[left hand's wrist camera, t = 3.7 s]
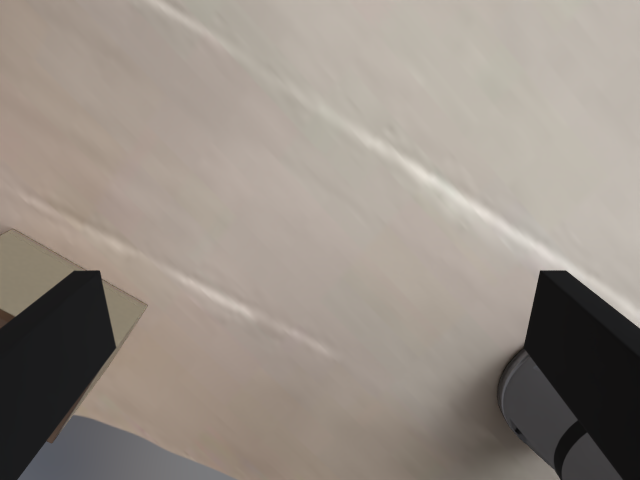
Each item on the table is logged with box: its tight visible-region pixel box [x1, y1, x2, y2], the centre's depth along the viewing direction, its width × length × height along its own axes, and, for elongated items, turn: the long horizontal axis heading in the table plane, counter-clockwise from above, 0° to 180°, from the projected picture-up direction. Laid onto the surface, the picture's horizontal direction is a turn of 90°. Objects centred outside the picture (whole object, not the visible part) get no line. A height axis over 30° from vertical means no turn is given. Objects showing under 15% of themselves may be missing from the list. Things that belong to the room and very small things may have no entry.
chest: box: [0, 229, 147, 435], centre depth 38 cm, size 14×10×9 cm
